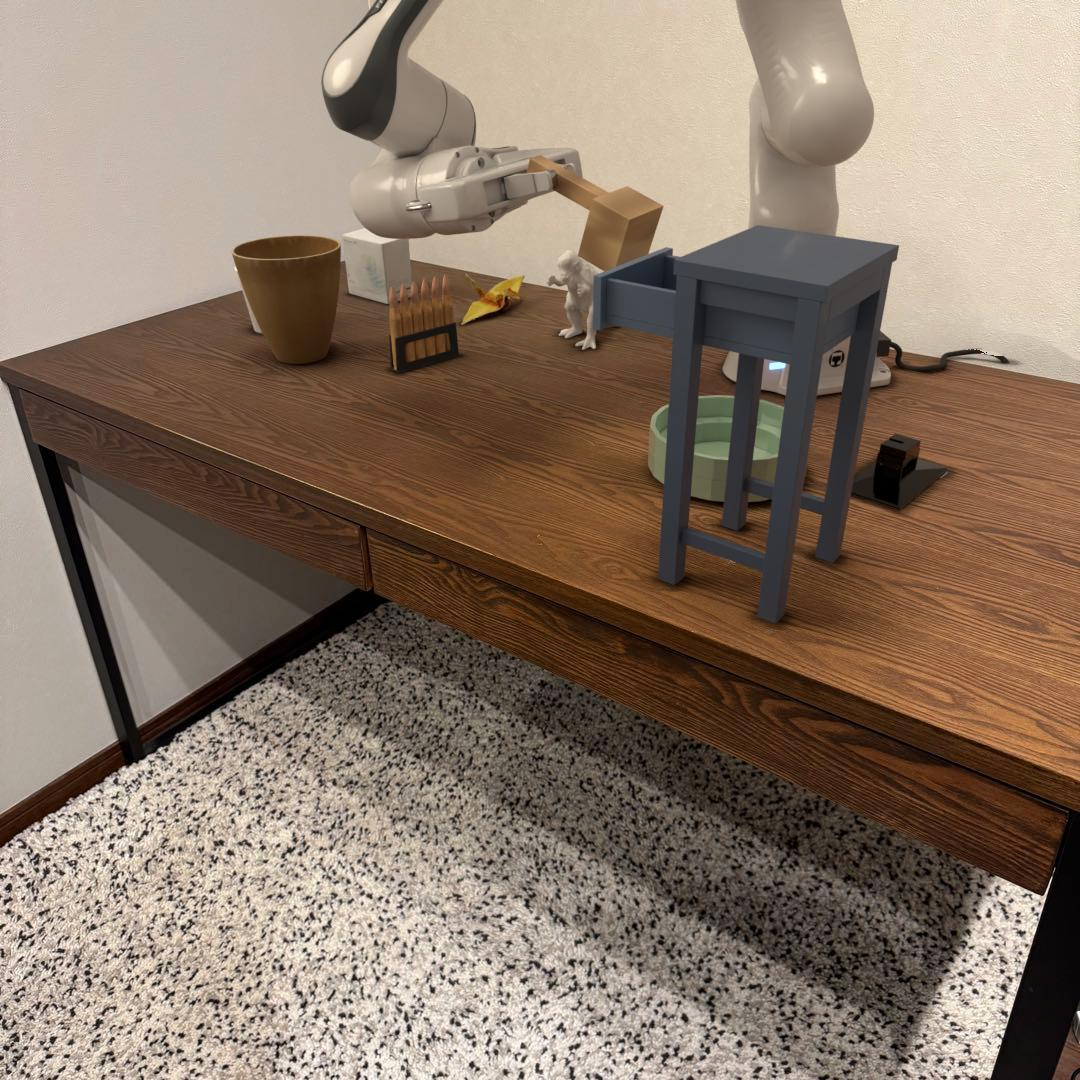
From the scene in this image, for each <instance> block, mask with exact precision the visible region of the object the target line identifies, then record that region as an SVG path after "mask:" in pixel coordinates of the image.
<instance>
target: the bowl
mask: <svg viewBox="0 0 1080 1080" xmlns="http://www.w3.org/2000/svg"><path fill="white" fill-rule="evenodd" d="M734 397H735V395H726V394H725V395H723V394H716V395H715V394H714V395H699V397H698V410H697V422H696V435H695V448H694V460H693V473H692V486H691V497H694V498H698V499H702V500H706V501H711V502H722V503H724V497H725V487H726V477H727V467H728V457H729V447H730V437H731V427H732V417H733V407H734ZM668 409H669V403H668V404H666V405H665V404H664V405H662V406H661V407H660V408H659V409H658V410H657V411H656V412H654V413H653V414H652V415H651V419H650V423H649V432H648V433H649V434H648V435H649V436H648V450H647V451H648V452H647V454H648V455H647V466H648V469H649V470H650V471H649V472H651V475H652V477H654V478H655V479H656V480H657V481H658V482H660V483H661V484H663V485H664V474H665V458H666V441H667V425H668ZM783 412H784V405H781V404H777V403H774V402H771V401H768V400H765V399H760V402H759V410H758V419H757V428H756V436H755V445H754V454H753V462H752V471H751V477H754V478H757V479H761V480H764V481H767V482H771V483H774V481H775V474H776V466H777V458H778V451H779V443H780V435H781V427H782V420H783ZM811 441H812V437H811V438H810V443H811ZM810 449H811V444H810V445H809V450H810ZM809 454H810V451H809V452H808V456H810V455H809ZM808 462H809V457H808V458H807V463H808ZM807 468H808V464H807V465H806V470H807ZM806 474H807V471H806V472H805V477H806ZM768 500H769V499H768V498H765V497H761V496H758V495H755V494H752V493H749V497H748V503H753V502H764V501H768Z"/></svg>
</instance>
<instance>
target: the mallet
mask: <svg viewBox="0 0 1080 1080" xmlns="http://www.w3.org/2000/svg"><path fill="white" fill-rule="evenodd" d="M552 169H553V170H555V171H556V174H557V180H558V186H557V187H556V188H554V189H552V190H554V191H553V192H556V193H557V194H559V195H560V196H563V197H565V198H566V199H568V200H569V201H572V202H574V204H577V205H579V206H580V207H582V208H584V209H586V210H587V211H589V212H588V214H587V217H586V218H587V219H586V223H585V227H584V230H583V234H582V238H581V241H580V244H579V248H578V253H577V254H578V256H579V257H580V258H581V259H583V260H586V261H587V262H588V263H589V264H590V265H592V266H593V267H596V268H598V269H599V270H601V271H602V272H604V271H607V270H609V269H612V268H614V267H617V266H619V265H622V264H625V263H627V262H630V261H632V260H635V259H637V258H640V257H642V256H645V255H647V254H650V250H651V247H652V243H653V241H654V237H655V234H656V231H657V228H658V225H659V223H660V218H661V217H662V216H661V215H662V213H663V210H664V205H663V204H662V203H660V202H657V200H656V201H655V200H654V199H652V198H650V197H649V196H647V195H644V194H643V193H641V192H639V191H637V190H635V189H634V188H632V187H630V186H628V185H627V186H624V187H620V188H619V189H615V190H612V191H610V192H609V191H607V190H605V189H603V188H602V187H600V186H598V185H596V184H595V183H592V182H591V181H589V180H587V179H586V178H582V177H580V176H578V175H576V174H574V173H572V172H571V171H569V170H567V169H565V168H563V167H562V166H560V165H558V164H556V163H554V162H553V161H551V160H549V159H547V158H545V157H543V156H542V155H539V156H535V157H532V158H530V160H529V165H528V169H527V173H535V172H540V171H545V170H552Z"/></svg>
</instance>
